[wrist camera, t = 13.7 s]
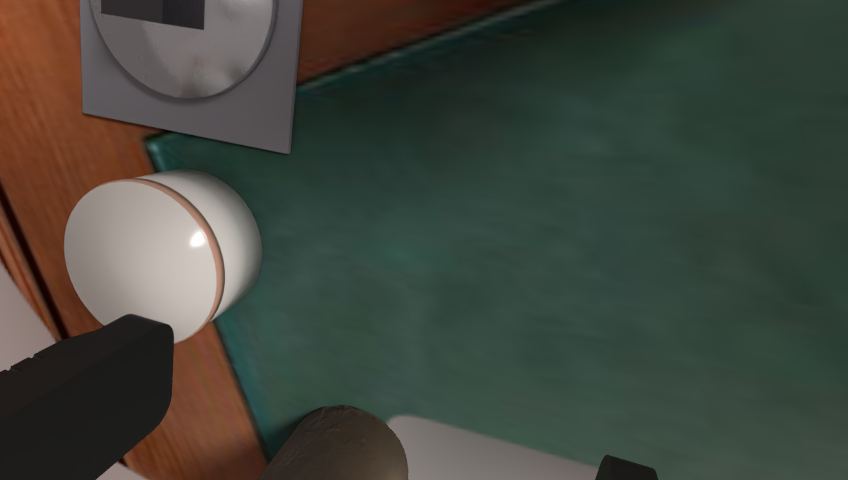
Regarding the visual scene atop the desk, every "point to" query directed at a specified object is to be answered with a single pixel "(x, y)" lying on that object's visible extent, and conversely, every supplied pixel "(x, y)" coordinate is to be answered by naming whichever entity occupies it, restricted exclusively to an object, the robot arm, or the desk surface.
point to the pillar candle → (339, 449)
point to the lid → (188, 41)
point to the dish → (163, 249)
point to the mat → (210, 116)
